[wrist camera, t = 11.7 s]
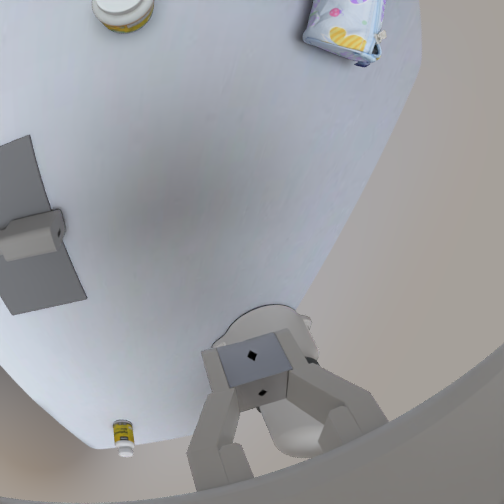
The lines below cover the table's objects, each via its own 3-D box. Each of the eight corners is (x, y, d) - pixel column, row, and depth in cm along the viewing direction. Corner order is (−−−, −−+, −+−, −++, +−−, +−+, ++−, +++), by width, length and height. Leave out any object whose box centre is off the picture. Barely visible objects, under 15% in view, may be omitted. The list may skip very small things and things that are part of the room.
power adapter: (59, 207, 32) (-16, 226, 29) (49, 229, 28) (-32, 248, 25) (66, 229, 34) (-8, 246, 31) (57, 253, 30) (-22, 270, 26)
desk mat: (87, 297, 40) (86, 299, 40) (12, 313, 37) (12, 315, 37) (29, 134, 27) (28, 135, 26) (-53, 171, 23) (-55, 172, 23)
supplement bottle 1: (162, 14, 25) (169, -6, 17) (119, 43, 25) (109, 34, 17) (136, -20, 21) (133, -50, 14) (92, 10, 22) (73, -10, 14)
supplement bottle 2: (127, 418, 60) (131, 450, 54) (134, 426, 63) (139, 456, 56) (109, 421, 59) (112, 452, 53) (117, 428, 62) (121, 459, 55)
